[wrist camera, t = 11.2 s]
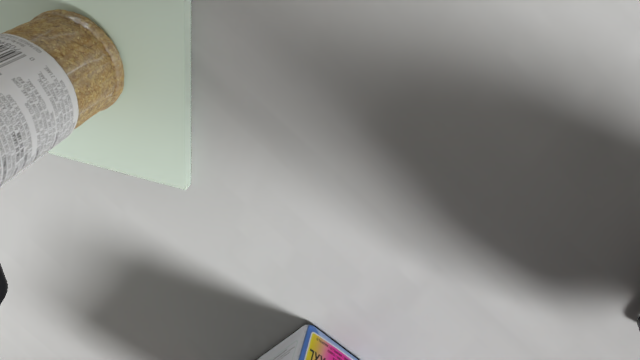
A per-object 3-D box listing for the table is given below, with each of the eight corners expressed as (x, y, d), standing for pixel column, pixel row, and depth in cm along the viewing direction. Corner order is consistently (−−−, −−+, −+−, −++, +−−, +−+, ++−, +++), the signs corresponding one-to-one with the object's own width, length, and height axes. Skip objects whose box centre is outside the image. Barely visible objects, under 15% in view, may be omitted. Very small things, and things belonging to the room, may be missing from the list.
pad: (191, -29, 19) (184, -25, 19) (191, 183, 25) (185, 190, 24) (-43, -80, 20) (-55, -78, 20) (8, 134, 26) (0, 140, 25)
